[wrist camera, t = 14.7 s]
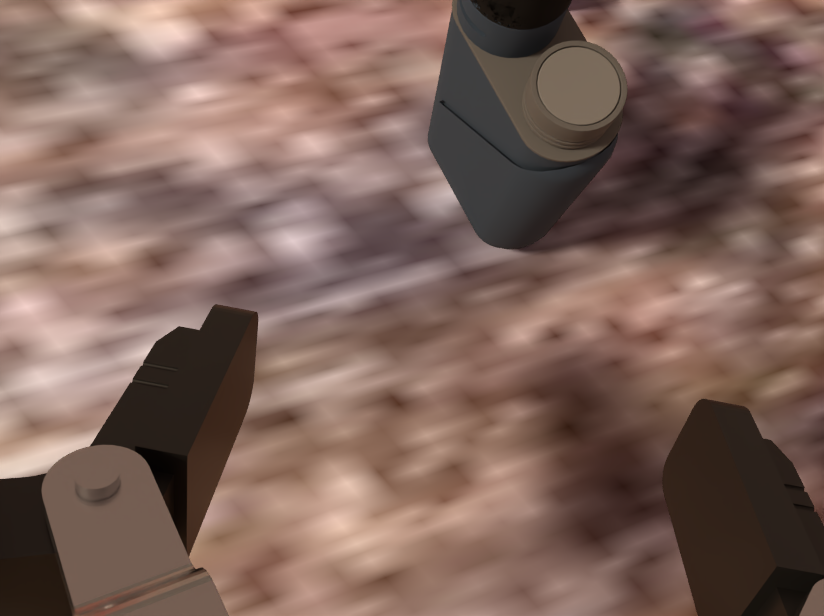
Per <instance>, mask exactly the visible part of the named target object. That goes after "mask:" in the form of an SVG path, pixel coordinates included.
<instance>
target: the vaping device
mask: <svg viewBox="0 0 824 616" xmlns="http://www.w3.org/2000/svg"><path fill="white" fill-rule="evenodd" d="M571 1H572V0H453V1H452V13H451V18H450V23H449V28H448V34H447V39H446V44H445V49H444V54H443V60H442V65H441V70H440V75H439V80H438V86H437V91H436V96H435V101H434V106H433V112H432V117H431V122H430V127H429V132H428V144H429V147H430V149H431V151H432V153H433V155H434V157H435V159H436V161H437V162H438V164H439V166H440V168H441V170H442V172H443V173H444V175H445V177H446V179H447V181H448V183H449V184H450V186H451V188H452V190H453V192H454V194H455V195H456V197H457V199H458V201H459V203H460V205H461V206H462V208H463V210H464V212H465V214H466V215H467V217H468V219H469V221H470V223H471V225H472V226H473V228H474V230H475V232H476V233H477V235H478V236H479V237H480V238H481V239H482V240H483V241H484V242H486V243H487V244H489V245H491V246H494V247H498V248H504V249H517V248H522V247H525V246H528V245H530V244H533V243H535V242H536V241H538V240H539V239H541V238H542V237H544V236H545V235H546V233H547V232H548V231H549V230H550V229H551V227H552V226H553V225H554V224H555V223H556V222H557V220H558V219H559V218H560V217H561V216H562V214H563V213H564V212H565V211H566V210H567V209H568V207H569V206H570V205H571V204H572V203H573V201H574V200H575V199H576V198H577V197H578V195H579V194H580V193H581V192H582V191H583V190H584V188H585V187H586V186H587V185H588V184H589V182H590V181H591V180H592V179H593V178H594V177H595V175H596V174H597V173H598V172H599V171H600V169H601V168H602V167H603V166H604V165H605V163H606V162H607V161H608V160H609V158H610V157H611V155H612V152H613V150H614V147H615V145H616V142H617V138H618V131H619V129H620V126H621V123H622V118H623V106H624V104H625V101H626V97H627V81H626V77H625V74H624V72H623V69H622V67H621V66H620V64H619V63H618V61H617V60H616V59H615V58H614V57H613V56H612V55H611V54H610V53H609V52H608V51H606V50H605V49H603V48H602V47H600V46H598V45H596V44H593V43H590V42H587V41H586V39H585V37H584V36H583V34H582V32H581V31H580V29H579V27H578V26H577V24H576V22H575V21H574V19H573V17H572V15H571V14H570V12H569V10H568V7H569V5H570V3H571Z"/></svg>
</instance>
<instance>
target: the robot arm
mask: <svg viewBox="0 0 824 616" xmlns="http://www.w3.org/2000/svg"><path fill="white" fill-rule="evenodd" d="M257 331H258V313H257V312H254V311H249V310H244V309H238V308H233V307H228V306H223V305H218V304H215V305H214V306H213V307H212V309H211V311H210V313H209V314H208V316H207V318H206V320H205V321H204V323H203V325H202V327H201V329H200V330H196V329H191V328H185V327H180V326H179V327H177V328H176V329H174V330H173V331H171V332H170V333H168V334H167V335H165V336H164V337H162V338H161V339H159V340H158V341H156V343H155V344H154V346H153V347H152V349H151V351H150V352H149V354H148V355H147V357H146V359H145V360H144V362H143V366H141V367H140V368H139V370H138V371H137V373H136V374H135V376H134V378H133V382H132V383H130V384H129V386H128V387H127V389H126V390H125V392H124V393H123V395H122V397H121V398H120V400H119V401H118V403H117V405H116V406H115V408H114V409H113V411H112V412H111V414H110V416H109V417H108V419H107V420H106V422H105V424H104V425H103V427H102V428H101V430H100V431H99V433H98V435H97V436H96V438H95V439H94V441H93V443H92V444H91V445H90V447H86V448H82V449H79V450H76V451H74V452H72V453H70V454H68V455H66V456H65V457H63V458H61V459H60V460H59V461H58V462H56V463H55V464H54V465H53V466H52V467H51V469H50V470H49V471H48V473H46V474H41V475H37V476H31V477H22V478H9V479H0V616H229V615H228V613H227V611H226V609H225V606H224V604H223V602H222V600H221V597H220V595H219V593H218V591H217V589H216V586H215V584H214V582H213V580H212V578H211V577H210V575H209V574H208V572H207V571H206V570H205V569H204V568H198V569H195V568H194V566H193V565H192V563H191V561H190V559H189V555H190V552H191V550H192V547H193V545H194V542H195V540H196V537H197V535H198V532H199V530H200V527H201V525H202V522H203V520H204V517H205V515H206V512H207V510H208V507H209V505H210V502H211V500H212V497H213V495H214V492H215V490H216V487H217V485H218V482H219V480H220V477H221V475H222V472H223V470H224V467H225V465H226V462H227V460H228V457H229V455H230V452H231V450H232V447H233V445H234V442H235V440H236V437H237V435H238V432H239V430H240V427H241V425H242V422H243V420H244V417H245V415H246V412H247V409H248V406H249V402H250V398H251V394H252V388H253V382H254V371H255V357H256V344H257ZM662 484H663V492H664V496H665V500H666V503H667V507H668V510H669V514H670V518H671V521H672V525H673V528H674V532H675V535H676V539H677V543H678V546H679V550H680V553H681V557H682V560H683V564H684V568H685V571H686V575H687V578H688V582H689V585H690V589H691V593H692V596H693V600H694V603H695V607H696V610H697V614H698V616H824V526H823V524H822V522H821V520H820V518H819V516H818V514H817V512H814V506H813V503H812V501H811V499H810V497H809V495H808V493H807V492H804V488H805V487H804V485H803V483H802V481H801V479H800V477H799V475H798V473H797V471H796V469H795V467H794V465H793V463H792V462H791V461H790V460H789V459H788V458H787V457H786V456H785V455H784V454H783V453H782V452H781V450H780V449H779V448H778V447H777V446H776V445H775V444H774V443H773V442H772V441H771V440H768V439H763V438H762V436H761V434H760V432H759V430H758V428H757V426H756V423H755V421H754V419H753V417H752V415H751V413H750V411H749V410H748V409H747V408H746V407H744V406H739V405H734V404H728V403H723V402H718V401H713V400H708V399H701V400H699V401H698V402H697V403H696V405H695V406H694V408H693V410H692V411H691V413H690V415H689V417H688V419H687V421H686V423H685V425H684V427H683V428H682V430H681V432H680V434H679V436H678V438H677V440H676V442H675V444H674V446H673V447H672V449H671V451H670V453H669V455H668V457H667V459H666V462H665V465H664V470H663V479H662Z"/></svg>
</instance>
